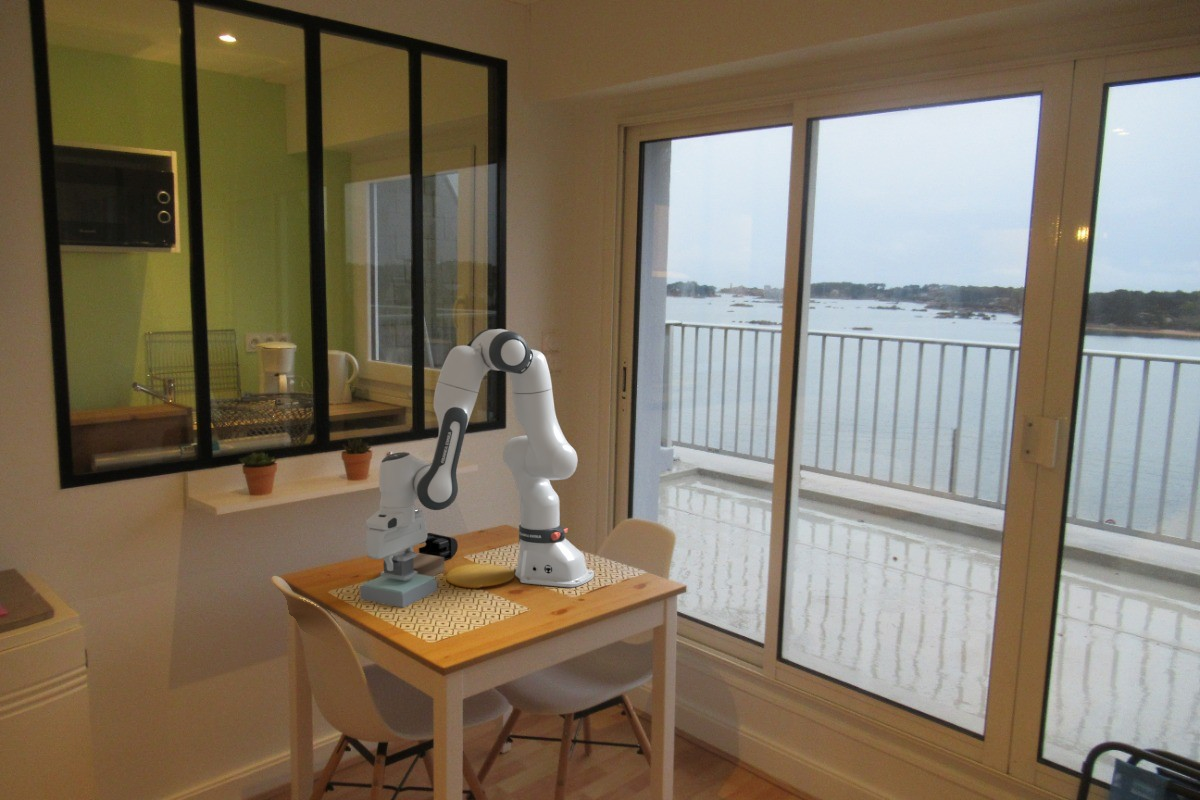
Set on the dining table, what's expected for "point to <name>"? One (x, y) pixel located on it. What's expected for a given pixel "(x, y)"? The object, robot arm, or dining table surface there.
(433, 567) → the stand
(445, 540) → the end cap
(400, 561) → the block
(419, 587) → the stand
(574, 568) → the robot arm
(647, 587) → the dining table surface
